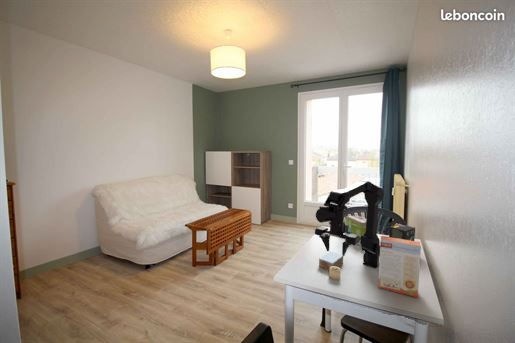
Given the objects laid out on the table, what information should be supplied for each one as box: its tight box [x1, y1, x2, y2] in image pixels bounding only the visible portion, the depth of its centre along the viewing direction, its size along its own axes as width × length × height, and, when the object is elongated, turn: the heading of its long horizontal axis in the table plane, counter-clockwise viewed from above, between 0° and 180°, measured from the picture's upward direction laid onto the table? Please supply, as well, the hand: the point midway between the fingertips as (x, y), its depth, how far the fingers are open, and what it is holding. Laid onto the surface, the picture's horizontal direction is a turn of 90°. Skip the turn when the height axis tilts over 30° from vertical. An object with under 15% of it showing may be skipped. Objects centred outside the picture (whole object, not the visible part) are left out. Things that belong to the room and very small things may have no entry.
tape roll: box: [328, 266, 342, 281], centre depth 107 cm, size 5×5×4 cm
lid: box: [318, 250, 344, 264], centre depth 119 cm, size 7×12×1 cm, turn 137°
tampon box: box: [388, 223, 416, 241], centre depth 136 cm, size 11×9×15 cm
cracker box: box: [378, 235, 422, 298], centre depth 97 cm, size 14×6×21 cm, turn 59°
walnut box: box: [318, 256, 344, 271], centre depth 119 cm, size 7×12×4 cm, turn 137°
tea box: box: [344, 214, 367, 247], centre depth 152 cm, size 15×10×15 cm
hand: (335, 253), depth 106 cm, fingers open, 7 cm apart
